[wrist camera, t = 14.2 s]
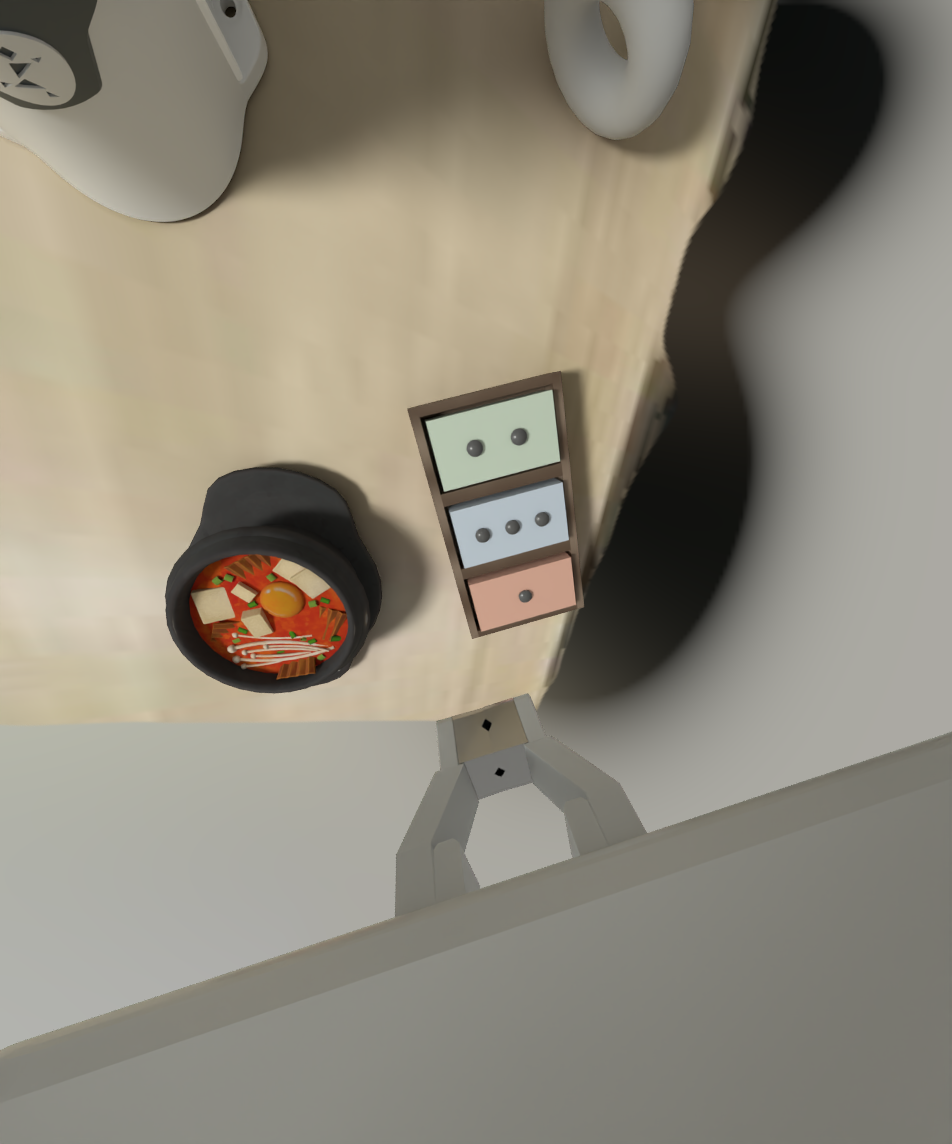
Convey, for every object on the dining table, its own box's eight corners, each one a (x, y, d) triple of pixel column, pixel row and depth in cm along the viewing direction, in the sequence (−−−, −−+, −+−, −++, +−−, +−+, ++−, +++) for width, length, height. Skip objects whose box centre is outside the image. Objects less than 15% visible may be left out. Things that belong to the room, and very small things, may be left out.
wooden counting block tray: (407, 408, 33) (407, 409, 30) (546, 373, 34) (560, 371, 31) (467, 622, 44) (472, 638, 41) (571, 592, 45) (583, 606, 42)
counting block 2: (446, 503, 37) (450, 513, 34) (550, 475, 37) (563, 483, 34) (460, 556, 39) (465, 569, 36) (557, 529, 40) (570, 540, 37)
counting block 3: (464, 571, 40) (469, 586, 37) (559, 545, 41) (571, 558, 38) (476, 615, 43) (481, 633, 40) (564, 590, 44) (577, 606, 40)
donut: (636, 138, 28) (742, 17, 19) (604, 182, 29) (691, 85, 20) (548, -12, 24) (631, -253, 15) (514, 43, 25) (573, -154, 16)
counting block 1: (424, 419, 33) (425, 422, 30) (539, 390, 34) (553, 389, 30) (441, 484, 36) (444, 492, 33) (547, 455, 36) (561, 461, 33)
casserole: (380, 675, 46) (374, 729, 38) (214, 676, 42) (171, 736, 35) (386, 474, 36) (380, 495, 28) (168, 452, 32) (94, 468, 24)
